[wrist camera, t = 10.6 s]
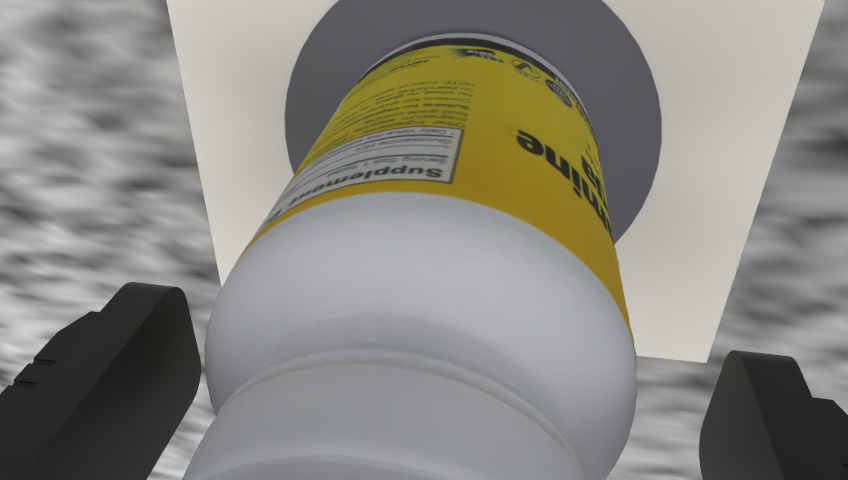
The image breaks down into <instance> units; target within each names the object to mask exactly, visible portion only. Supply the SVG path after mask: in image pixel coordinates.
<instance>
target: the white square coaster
mask: <svg viewBox="0 0 848 480" xmlns="http://www.w3.org/2000/svg"><path fill="white" fill-rule="evenodd" d="M166 1H167V6H168V11H169V16H170V22H171V27H172V32H173V37H174V43H175V48H176V53H177V58H178V63H179V69H180V74H181V79H182V84H183V89H184V95H185V100H186V105H187V110H188V115H189V121H190V126H191V131H192V136H193V142H194V147H195V152H196V157H197V162H198V168H199V173H200V178H201V183H202V188H203V194H204V199H205V204H206V209H207V214H208V220H209V225H210V230H211V235H212V241H213V246H214V251H215V256H216V261H217V267H218V272H219V277H220V282H221V287H223V285H224V283H225V281H226V279H227V277H228V275H229V273H230V272H231V270H232V268H233V267H234V265H235V263H236V262H237V260H238V259H239V257H240V256H241V254H242V253H243V251H244V249H245V248H246V246H247V245H248V244H249V242H250V241H251V240H252V238H253V236H254V235H255V233H256V232H257V230H258V229H259V227H260V226H261V224H262V223H263V221H264V220H265V219H266V217H267V216H268V214H269V212H270V211H271V209H272V208H273V206H274V205H275V203H276V202H277V200H278V198H279V197H280V195H281V194H282V192H283V191H284V189H285V188H286V186H287V185H288V183H289V182H290V181H291V179H292V177H293V176H294V174H295V173H296V171H297V170H298V168H299V167H300V165H301V164H302V162H303V161H304V159H305V158H306V156H307V155H308V153H309V152H310V150H311V149H312V147H313V146H314V144H315V142H316V141H317V139H318V138H319V136H320V135H321V133H322V132H323V130H324V129H325V127H326V125H327V124H328V122H329V121H330V119H331V118H332V116H333V115H334V113H335V112H336V110H337V109H338V107H339V105H340V104H341V102H342V101H343V99H344V98H345V97H346V95H347V94H348V93H349V91H350V90H351V89H352V87H353V86H354V85H355V84H356V82H357V81H358V80H359V79H360V77H361V76H362V75H363V74H364V73H365V72H366V71H367V70H368V69H369V68H370V67H371V66H372V65H374V64H375V63H376V62H377V61H378V60H380V59H381V58H382V57H384V56H385V55H386V54H388V53H390V52H391V51H393V50H395V49H397V48H399V47H400V46H402V45H405V44H407V43H410V42H412V41H415V40H418V39H421V38H425V37H429V36H433V35H440V34H447V33H476V34H485V35H491V36H496V37H500V38H503V39H506V40H509V41H511V42H514V43H516V44H518V45H521V46H523V47H525V48H527V49H529V50H531V51H532V52H534V53H536V54H537V55H539V56H540V57H542V58H543V59H545V60H546V61H547V62H549V63H550V64H551V65H552V66H554V67H555V68H556V69H557V70H558V71H559V72H560V73H561V74H562V75H563V76H564V77H565V78H566V79H567V80H568V82H569V83H570V84H571V86H572V87H573V89H574V90H575V91H576V93H577V94H578V96H579V98H580V99H581V101H582V103H583V105H584V107H585V109H586V111H587V114H588V116H589V119H590V122H591V125H592V128H593V131H594V135H595V139H596V143H597V147H598V151H599V158H600V165H601V170H602V176H603V182H604V186H605V193H606V200H607V205H608V211H609V217H610V222H611V229H612V235H613V240H614V245H615V250H616V254H617V258H618V262H619V269H620V276H621V281H622V286H623V292H624V297H625V302H626V307H627V311H628V315H629V322H630V327H631V330H632V334H633V338H634V347H635V352H636V356H644V357H653V358H663V359H673V360H682V361H692V362H702V363H706V362H707V359H708V356H709V353H710V350H711V347H712V344H713V341H714V338H715V335H716V332H717V329H718V326H719V323H720V320H721V317H722V313H723V310H724V307H725V304H726V301H727V298H728V295H729V292H730V289H731V286H732V283H733V280H734V277H735V274H736V271H737V268H738V265H739V262H740V259H741V256H742V253H743V249H744V246H745V243H746V240H747V237H748V234H749V231H750V228H751V225H752V222H753V219H754V216H755V213H756V210H757V207H758V204H759V201H760V198H761V195H762V192H763V189H764V186H765V182H766V179H767V176H768V173H769V170H770V167H771V164H772V161H773V158H774V155H775V152H776V149H777V146H778V143H779V140H780V137H781V134H782V131H783V128H784V125H785V122H786V118H787V115H788V112H789V109H790V106H791V103H792V100H793V97H794V94H795V91H796V88H797V85H798V82H799V79H800V76H801V73H802V70H803V67H804V64H805V61H806V58H807V55H808V51H809V48H810V45H811V42H812V39H813V36H814V33H815V30H816V27H817V24H818V21H819V18H820V15H821V12H822V9H823V6H824V3H825V0H166Z"/></svg>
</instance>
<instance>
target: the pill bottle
mask: <svg viewBox="0 0 848 480" xmlns="http://www.w3.org/2000/svg"><path fill="white" fill-rule="evenodd" d="M205 373H206V380H207V385H208V390H209V394H210V399H211V403H212V406H213V409H214V411H215V414H216V418H215V419H214V421H213V422H212V424H211V425H210V427H209V428H208V430H207V431H206V433H205V435H204V437H203V439H202V441H201V443H200V444H199V446H198V448H197V450H196V452H195V454H194V456H193V458H192V460H191V462H190V464H189V466H188V468H187V471H186V473H185V475H184V477H183V479H182V480H605V479H606V478H607V476H608V475H609V473H610V472H611V470H612V469H613V467H614V466H615V464H616V462H617V461H618V459H619V457H620V455H621V453H622V451H623V449H624V447H625V444H626V441H627V439H628V436H629V433H630V429H631V426H632V421H633V417H634V411H635V404H636V397H637V380H636V352H635V347H634V338H633V334H632V330H631V327H630V322H629V315H628V311H627V307H626V302H625V297H624V292H623V286H622V281H621V276H620V269H619V262H618V258H617V254H616V250H615V245H614V240H613V235H612V229H611V222H610V217H609V211H608V205H607V200H606V193H605V186H604V182H603V176H602V170H601V165H600V158H599V151H598V147H597V143H596V139H595V135H594V131H593V128H592V125H591V122H590V119H589V116H588V114H587V111H586V109H585V107H584V105H583V103H582V101H581V99H580V98H579V96H578V94H577V93H576V91H575V90H574V89H573V87H572V86H571V84H570V83H569V82H568V80H567V79H566V78H565V77H564V76H563V75H562V74H561V73H560V72H559V71H558V70H557V69H556V68H555V67H554V66H552V65H551V64H550V63H549V62H547V61H546V60H545V59H543V58H542V57H540V56H539V55H537V54H536V53H534V52H532V51H531V50H529V49H527V48H525V47H523V46H521V45H518V44H516V43H514V42H511V41H509V40H506V39H503V38H500V37H496V36H491V35H485V34H476V33H447V34H440V35H433V36H429V37H425V38H421V39H418V40H415V41H412V42H410V43H407V44H405V45H402V46H400V47H399V48H397V49H395V50H393V51H391V52H390V53H388V54H386V55H385V56H384V57H382V58H381V59H380V60H378V61H377V62H376V63H375V64H374V65H372V66H371V67H370V68H369V69H368V70H367V71H366V72H365V73H364V74H363V75H362V76H361V77H360V79H359V80H358V81H357V82H356V84H355V85H354V86H353V87H352V89H351V90H350V91H349V93H348V94H347V95H346V97H345V98H344V99H343V101H342V102H341V104H340V105H339V107H338V109H337V110H336V112H335V113H334V115H333V116H332V118H331V119H330V121H329V122H328V124H327V125H326V127H325V129H324V130H323V132H322V133H321V135H320V136H319V138H318V139H317V141H316V142H315V144H314V146H313V147H312V149H311V150H310V152H309V153H308V155H307V156H306V158H305V159H304V161H303V162H302V164H301V165H300V167H299V168H298V170H297V171H296V173H295V174H294V176H293V177H292V179H291V181H290V182H289V183H288V185H287V186H286V188H285V189H284V191H283V192H282V194H281V195H280V197H279V198H278V200H277V202H276V203H275V205H274V206H273V208H272V209H271V211H270V212H269V214H268V216H267V217H266V219H265V220H264V221H263V223H262V224H261V226H260V227H259V229H258V230H257V232H256V233H255V235H254V236H253V238H252V240H251V241H250V242H249V244H248V245H247V246H246V248H245V249H244V251H243V253H242V254H241V256H240V257H239V259H238V260H237V262H236V263H235V265H234V267H233V268H232V270H231V272H230V273H229V275H228V277H227V279H226V281H225V283H224V285H223V287H222V289H221V290H220V292H219V295H218V297H217V299H216V302H215V304H214V307H213V310H212V313H211V316H210V320H209V323H208V328H207V335H206V342H205Z"/></svg>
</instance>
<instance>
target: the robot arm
mask: <svg viewBox="0 0 848 480" xmlns="http://www.w3.org/2000/svg"><path fill="white" fill-rule="evenodd" d="M200 376H201V361H200V356H199V352H198V347H197V343H196V338H195V334H194V330H193V325H192V321H191V317H190V312H189V308H188V303H187V299H186V296H185V294H184V292H183V291H182V289H180V288H178V287H172V286H163V285H154V284H145V283H136V282H130V283H127V284H125V285H124V286H123V287H122V288H121V289H120V290H119V291H118V292H117V293H116V294H115V295H114V296H113V298H112V299H111V300H110V301H109V302H108V303H107V304H106V306H105V307H104V308H103V309H102V310H101V311H100V312H93V311H91V312H89V313H87V314H86V315H84V316H83V317H81V318H79V319H78V320H76V321H75V322H73V323H71V324H70V325H68V326H67V327H65V328H63V329H62V330H60V331H59V332H57V333H56V335H55V336H54V337H53V338H52V339H51V340H50V341H49V342H48V343H47V344H46V345H45V346H44V347H43V349H42V350H41V351H40V352H39V353H38V354H37V355H36V356H35V357H34V362H33V363H32V364H31V363H29V364H28V365H27V366H26V367H25V368H24V369H23V370H22V371H21V372H20V373H19V375H18V376H17V377H16V378H15V379H14V384H13V385H12V386H11V385H8V386H7V388H6V389H5V390H4V391H3V392H2V393H1V394H0V480H146V479H147V478H148V476H149V474H150V473H151V471H152V469H153V468H154V466H155V464H156V463H157V461H158V459H159V458H160V456H161V454H162V452H163V451H164V449H165V447H166V446H167V444H168V442H169V441H170V439H171V437H172V436H173V434H174V432H175V431H176V429H177V427H178V425H179V424H180V422H181V420H182V419H183V417H184V415H185V414H186V412H187V410H188V409H189V407H190V405H191V404H192V402H193V400H194V398H195V395H196V393H197V390H198V386H199V382H200ZM699 458H700V467H701V473H702V477H703V480H848V415H847V414H846V413H845V412H844V411H843V410H842V409H841V408H840V407H839V406H838V405H837V404H836V403H835V402H834V401H833V400H829V399H821V398H812V395H811V393H810V391H809V388H808V386H807V384H806V382H805V379H804V377H803V375H802V373H801V370H800V368H799V366H798V364H797V362H796V361H795V360H794V359H793V358H792V357H789V356H781V355H772V354H763V353H754V352H745V351H736V350H733V351H731V352H730V353H729V354H728V355H727V357H726V359H725V361H724V364H723V367H722V370H721V373H720V376H719V378H718V381H717V384H716V387H715V390H714V393H713V396H712V398H711V401H710V404H709V407H708V410H707V413H706V416H705V418H704V421H703V424H702V428H701V434H700V443H699Z"/></svg>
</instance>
